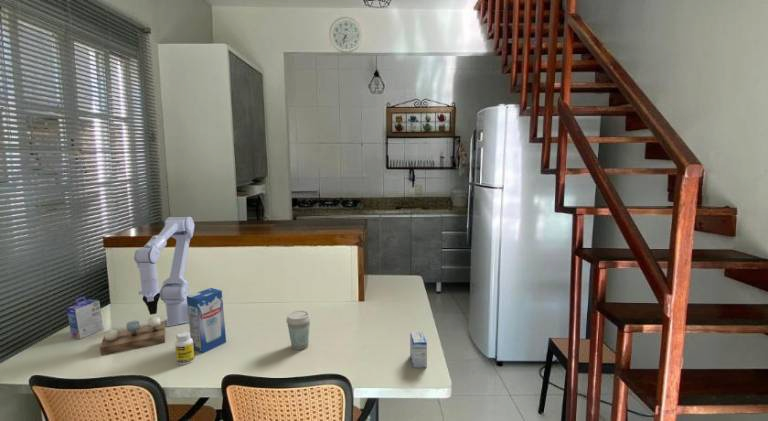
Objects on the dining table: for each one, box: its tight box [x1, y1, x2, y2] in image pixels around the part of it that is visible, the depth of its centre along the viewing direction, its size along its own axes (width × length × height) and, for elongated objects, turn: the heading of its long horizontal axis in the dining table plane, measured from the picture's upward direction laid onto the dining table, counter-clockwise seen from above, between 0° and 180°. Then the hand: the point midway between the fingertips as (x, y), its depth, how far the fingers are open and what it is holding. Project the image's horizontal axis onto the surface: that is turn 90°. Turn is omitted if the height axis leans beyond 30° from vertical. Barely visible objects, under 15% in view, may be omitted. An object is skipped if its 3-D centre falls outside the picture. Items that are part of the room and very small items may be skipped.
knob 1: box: [104, 329, 119, 341], centre depth 153 cm, size 4×4×4 cm
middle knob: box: [126, 320, 141, 335], centre depth 156 cm, size 4×4×4 cm
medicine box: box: [409, 331, 428, 368], centre depth 138 cm, size 8×4×9 cm, turn 5°
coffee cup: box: [286, 310, 312, 351], centre depth 150 cm, size 8×8×12 cm
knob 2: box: [147, 316, 162, 331], centre depth 159 cm, size 4×4×4 cm
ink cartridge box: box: [65, 296, 104, 340], centre depth 165 cm, size 10×6×14 cm, turn 161°
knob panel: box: [99, 322, 166, 357], centre depth 157 cm, size 20×12×3 cm, turn 117°
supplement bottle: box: [174, 331, 195, 366], centre depth 142 cm, size 5×5×10 cm
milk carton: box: [186, 287, 227, 354], centre depth 151 cm, size 10×6×20 cm, turn 148°
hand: (153, 313), depth 159 cm, fingers closed
